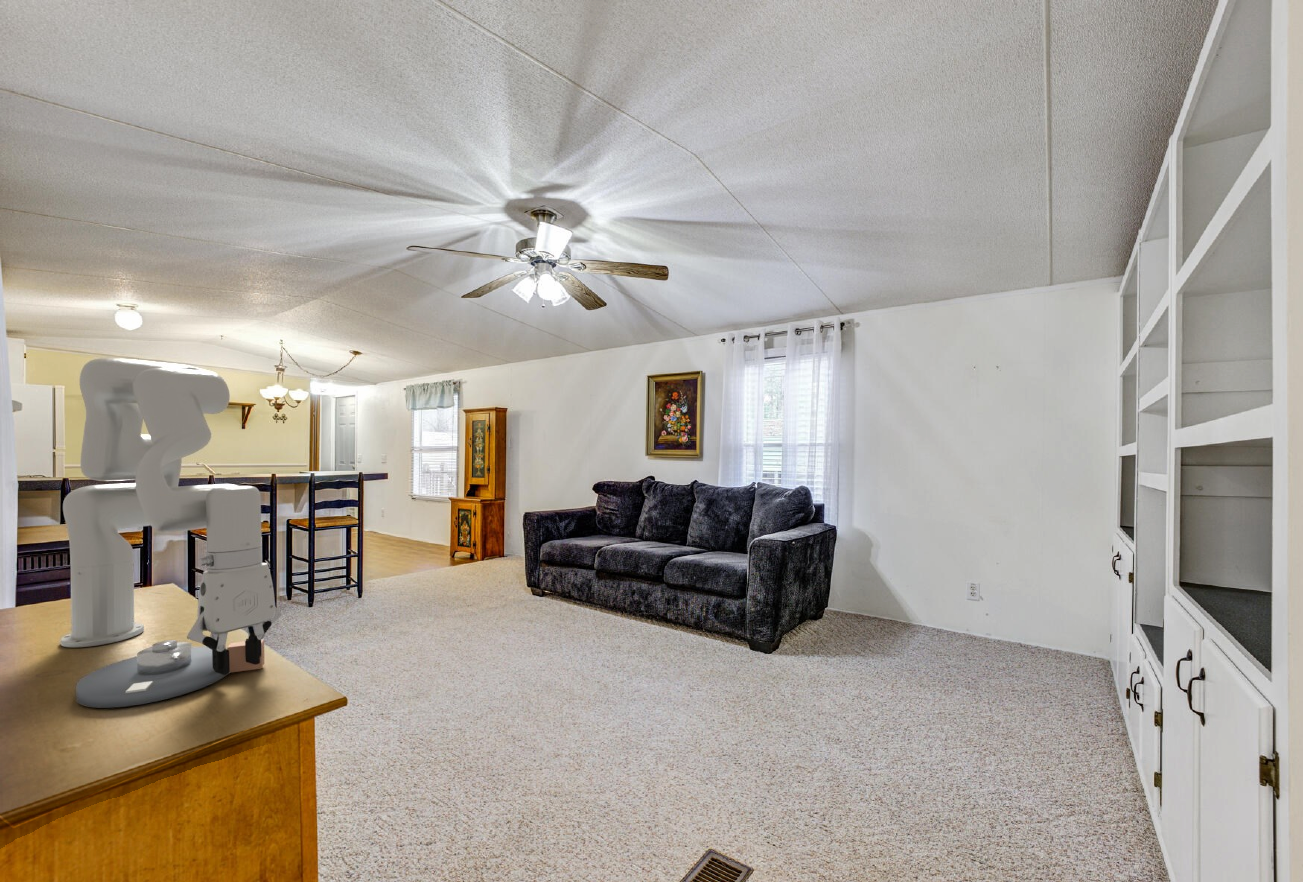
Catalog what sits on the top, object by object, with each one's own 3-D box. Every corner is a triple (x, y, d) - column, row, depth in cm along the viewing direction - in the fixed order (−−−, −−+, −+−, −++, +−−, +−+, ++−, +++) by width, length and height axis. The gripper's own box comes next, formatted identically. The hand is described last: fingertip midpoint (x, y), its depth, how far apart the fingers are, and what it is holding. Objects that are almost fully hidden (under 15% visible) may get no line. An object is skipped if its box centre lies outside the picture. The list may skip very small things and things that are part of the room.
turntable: (48, 718, 85) (47, 687, 85) (109, 668, 103) (109, 643, 103) (250, 688, 95) (250, 660, 94) (273, 647, 113) (273, 624, 113)
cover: (130, 678, 94) (130, 653, 94) (145, 663, 100) (145, 640, 100) (184, 670, 97) (184, 646, 97) (196, 656, 103) (196, 634, 103)
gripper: (188, 571, 89) (191, 691, 89) (298, 552, 104) (300, 654, 104) (164, 567, 93) (167, 682, 93) (274, 549, 108) (276, 648, 108)
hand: (237, 666), depth 98 cm, fingers closed on turntable, 4 cm apart
